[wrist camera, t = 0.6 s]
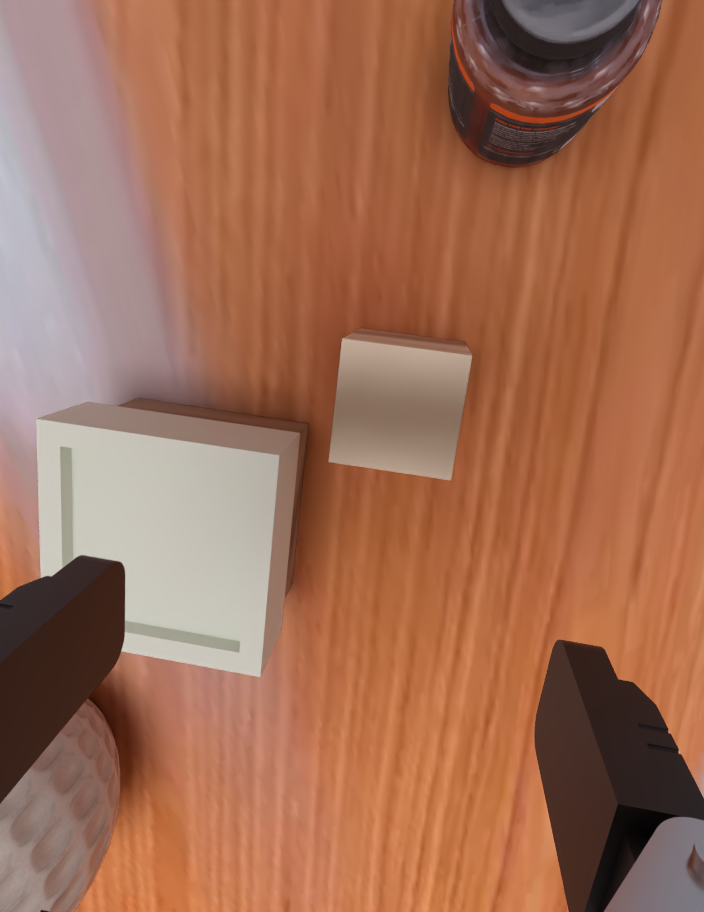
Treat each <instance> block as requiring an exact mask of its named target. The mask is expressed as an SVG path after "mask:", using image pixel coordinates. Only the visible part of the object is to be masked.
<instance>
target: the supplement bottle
mask: <svg viewBox="0 0 704 912" xmlns="http://www.w3.org/2000/svg"><path fill="white" fill-rule="evenodd" d="M661 3H662V0H454V5H453V14H452V28H451V44H450V63H449V85H448V95H449V107H450V111H451V116H452V120H453V123H454V125H455V128H456V130H457V132H458V133H459V135H460V137H461V138H462V140H463V141H464V142H465V144H466V145H467V146H468V147H469V148H470V149H471V150H472V151H473V152H474V153H476V154H477V155H478V156H479V157H481V158H483V159H484V160H486V161H488V162H491V163H494V164H498V165H502V166H511V167H517V166H526V165H531V164H535V163H538V162H540V161H542V160H545V159H547V158H549V157H550V156H552V155H553V154H555V153H556V152H558V151H559V150H560V149H562V148H563V147H564V146H565V145H567V144H568V143H569V142H570V141H571V140H572V139H573V138H574V137H575V136H576V135H577V133H578V132H579V131H580V130H581V129H582V128H583V127H584V125H585V124H586V123H587V122H588V121H589V120H590V118H591V117H592V116H593V115H594V114H595V113H596V112H597V111H598V109H599V108H600V107H601V106H602V105H603V103H604V102H605V101H606V100H607V99H608V98H609V97H610V95H611V94H612V93H613V92H614V91H615V90H616V88H617V87H618V86H619V85H620V84H621V83H622V81H623V80H624V79H625V78H626V77H627V75H628V74H629V73H630V72H631V70H632V69H633V68H634V66H635V65H636V63H637V62H638V61H639V59H640V58H641V56H642V54H643V52H644V50H645V49H646V47H647V44H648V43H649V40H650V38H651V35H652V33H653V30H654V28H655V25H656V22H657V20H658V17H659V12H660V9H661Z"/></svg>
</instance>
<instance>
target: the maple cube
mask: <svg viewBox="0 0 704 912" xmlns="http://www.w3.org/2000/svg"><path fill="white" fill-rule="evenodd" d="M471 361H472V354H471V352H470V350H469V348H468V346H467V344H466V343H465V342H463V341H455V340H447V339H440V338H432V337H424V336H416V335H409V334H401V333H393V332H386V331H378V330H370V329H363V328H360V329H358V330H356V331H354V332H353V333H351V334H349V335H347V336H346V337H344V338H342V344H341V353H340V362H339V371H338V380H337V389H336V398H335V407H334V416H333V425H332V434H331V443H330V452H329V461H328V462H332V463H339V464H345V465H352V466H359V467H365V468H372V469H379V470H385V471H392V472H398V473H405V474H412V475H418V476H425V477H431V478H438V479H445V480H451V478H452V472H453V466H454V460H455V454H456V449H457V443H458V437H459V431H460V425H461V419H462V414H463V408H464V402H465V396H466V390H467V384H468V379H469V373H470V367H471Z"/></svg>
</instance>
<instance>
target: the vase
mask: <svg viewBox="0 0 704 912" xmlns="http://www.w3.org/2000/svg"><path fill="white" fill-rule="evenodd" d="M119 799H120V763H119V755H118V749H117V746H116V743H115V740H114V737H113V734H112V731H111V729H110V727H109V725H108V723H107V721H106V719H105V717H104V715H103V713H102V712H101V711H100V709H99V708H98V707H97V706H96V705H95V703H94V702H93V701H91V700H90V699H89V698H88V699H87V700H86V701H85V702H84V704H83V705H82V706H81V707H80V708H79V710H78V711H77V712H76V713H75V714H74V716H73V717H72V718H71V719H70V720H69V722H68V723H67V724H66V725H65V726H64V728H63V729H62V730H61V731H60V732H59V734H58V735H57V736H56V737H55V739H54V740H53V741H52V742H51V743H50V745H49V746H48V747H47V748H46V749H45V751H44V752H43V753H42V754H41V755H40V757H39V758H38V759H37V760H36V761H35V763H34V764H33V765H32V766H31V767H30V769H29V770H28V771H27V772H26V774H25V775H24V776H23V777H22V778H21V780H20V781H19V782H18V783H17V784H16V786H15V787H14V788H13V789H12V790H11V792H10V793H9V794H8V795H7V796H6V798H5V799H4V800H3V801H2V802H1V804H0V912H40V911H41V910H45V911H49V912H75V911H76V909H77V908H78V906H79V905H80V903H81V901H82V900H83V898H84V896H85V895H86V893H87V891H88V890H89V888H90V886H91V885H92V883H93V881H94V879H95V877H96V875H97V872H98V870H99V868H100V866H101V864H102V862H103V859H104V857H105V855H106V853H107V850H108V848H109V846H110V842H111V839H112V835H113V832H114V828H115V824H116V820H117V816H118V811H119Z"/></svg>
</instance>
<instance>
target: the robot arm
mask: <svg viewBox="0 0 704 912" xmlns="http://www.w3.org/2000/svg"><path fill="white" fill-rule="evenodd" d="M124 637H125V568H124V565H123V564H122V563H121V562H119V561H114V560H108V559H103V558H97V557H91V556H86V555H80V556H78V557H76V558H75V559H74V560H72V561H71V562H70V563H68V564H67V565H66V566H65V567H63V568H62V569H61V570H59V571H58V572H57V573H56V574H54V575H53V576H52V577H51V576H45V577H42V578H40V579H37V580H35V581H32V582H30V583H27V584H25V585H22V586H20V587H18V588H16V589H15V590H14V591H12V592H11V593H10V594H8V595H7V596H6V597H4V598H3V599H2V600H0V804H1V802H2V801H3V800H4V799H5V798H6V796H7V795H8V794H9V793H10V792H11V790H12V789H13V788H14V787H15V786H16V784H17V783H18V782H19V781H20V780H21V778H22V777H23V776H24V775H25V774H26V772H27V771H28V770H29V769H30V767H31V766H32V765H33V764H34V763H35V761H36V760H37V759H38V758H39V757H40V755H41V754H42V753H43V752H44V751H45V749H46V748H47V747H48V746H49V745H50V743H51V742H52V741H53V740H54V739H55V737H56V736H57V735H58V734H59V732H60V731H61V730H62V729H63V728H64V726H65V725H66V724H67V723H68V722H69V720H70V719H71V718H72V717H73V716H74V714H75V713H76V712H77V711H78V710H79V708H80V707H81V706H82V705H83V704H84V702H85V701H86V700H87V699H88V697H89V696H90V695H91V694H92V693H93V691H94V690H95V689H96V688H97V687H98V685H99V684H100V683H101V682H102V681H103V679H104V678H105V677H106V676H107V675H108V673H109V672H110V671H111V670H112V668H113V667H114V666H115V664H116V662H117V660H118V658H119V656H120V653H121V650H122V647H123V643H124ZM535 749H536V755H537V760H538V765H539V769H540V774H541V779H542V784H543V789H544V794H545V798H546V803H547V808H548V813H549V818H550V823H551V827H552V832H553V837H554V842H555V847H556V851H557V856H558V861H559V866H560V871H561V876H562V880H563V885H564V890H565V895H566V900H567V905H568V909H569V912H704V798H703V796H702V794H701V792H700V790H699V788H698V786H697V784H696V782H695V780H694V778H693V777H692V775H691V773H690V771H689V769H688V767H687V765H686V763H685V761H684V759H683V757H682V755H681V754H679V753H678V750H679V749H678V747H677V745H676V743H675V741H674V739H673V737H672V735H671V734H669V733H668V728H667V726H666V724H665V722H664V720H663V718H662V716H661V714H660V712H659V710H658V708H657V706H656V704H655V703H654V702H653V701H652V700H651V699H649V698H648V697H647V696H646V695H645V694H644V693H643V692H642V691H641V690H640V689H639V688H638V687H637V686H636V685H635V684H634V683H633V682H629V681H623V680H618V678H617V676H616V674H615V672H614V669H613V667H612V665H611V663H610V660H609V658H608V656H607V654H606V652H605V650H604V649H603V648H602V647H599V646H593V645H588V644H582V643H576V642H570V641H565V640H557V641H556V643H555V645H554V647H553V650H552V653H551V657H550V661H549V666H548V670H547V674H546V678H545V682H544V686H543V690H542V694H541V698H540V702H539V706H538V710H537V714H536V721H535ZM40 912H49V911H45V910H41V911H40Z"/></svg>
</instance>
